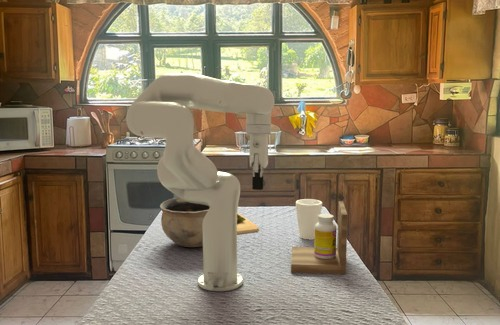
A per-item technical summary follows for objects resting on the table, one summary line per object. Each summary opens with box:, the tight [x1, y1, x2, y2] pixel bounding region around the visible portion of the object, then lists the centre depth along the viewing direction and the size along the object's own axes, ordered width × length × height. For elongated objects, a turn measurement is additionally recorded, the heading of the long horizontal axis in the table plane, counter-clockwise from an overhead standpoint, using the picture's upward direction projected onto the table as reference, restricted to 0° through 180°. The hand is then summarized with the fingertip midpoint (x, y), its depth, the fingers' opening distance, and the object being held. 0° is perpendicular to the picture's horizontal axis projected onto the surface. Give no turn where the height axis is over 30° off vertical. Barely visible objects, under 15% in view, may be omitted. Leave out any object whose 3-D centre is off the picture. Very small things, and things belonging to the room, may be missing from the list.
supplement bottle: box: [313, 213, 338, 259], centre depth 155 cm, size 7×7×13 cm
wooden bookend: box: [290, 200, 348, 275], centre depth 156 cm, size 16×16×18 cm
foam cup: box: [295, 198, 323, 241], centre depth 183 cm, size 10×9×13 cm
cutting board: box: [237, 211, 260, 235], centre depth 203 cm, size 35×23×8 cm
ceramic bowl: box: [159, 197, 210, 248], centre depth 175 cm, size 22×22×15 cm
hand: (257, 189), depth 157 cm, fingers closed
